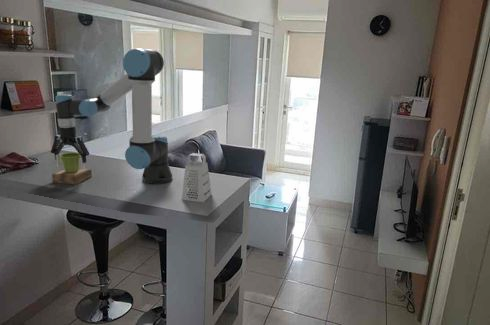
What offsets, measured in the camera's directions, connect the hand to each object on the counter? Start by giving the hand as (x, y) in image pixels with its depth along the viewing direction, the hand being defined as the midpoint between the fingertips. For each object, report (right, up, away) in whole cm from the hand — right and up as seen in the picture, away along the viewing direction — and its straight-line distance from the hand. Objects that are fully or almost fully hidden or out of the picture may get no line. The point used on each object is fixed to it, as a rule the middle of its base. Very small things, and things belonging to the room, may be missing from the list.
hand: (71, 167), depth 189 cm
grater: (+66, -13, -18) cm, 70 cm away
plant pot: (0, -2, +1) cm, 2 cm away
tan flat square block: (0, -6, +2) cm, 6 cm away
